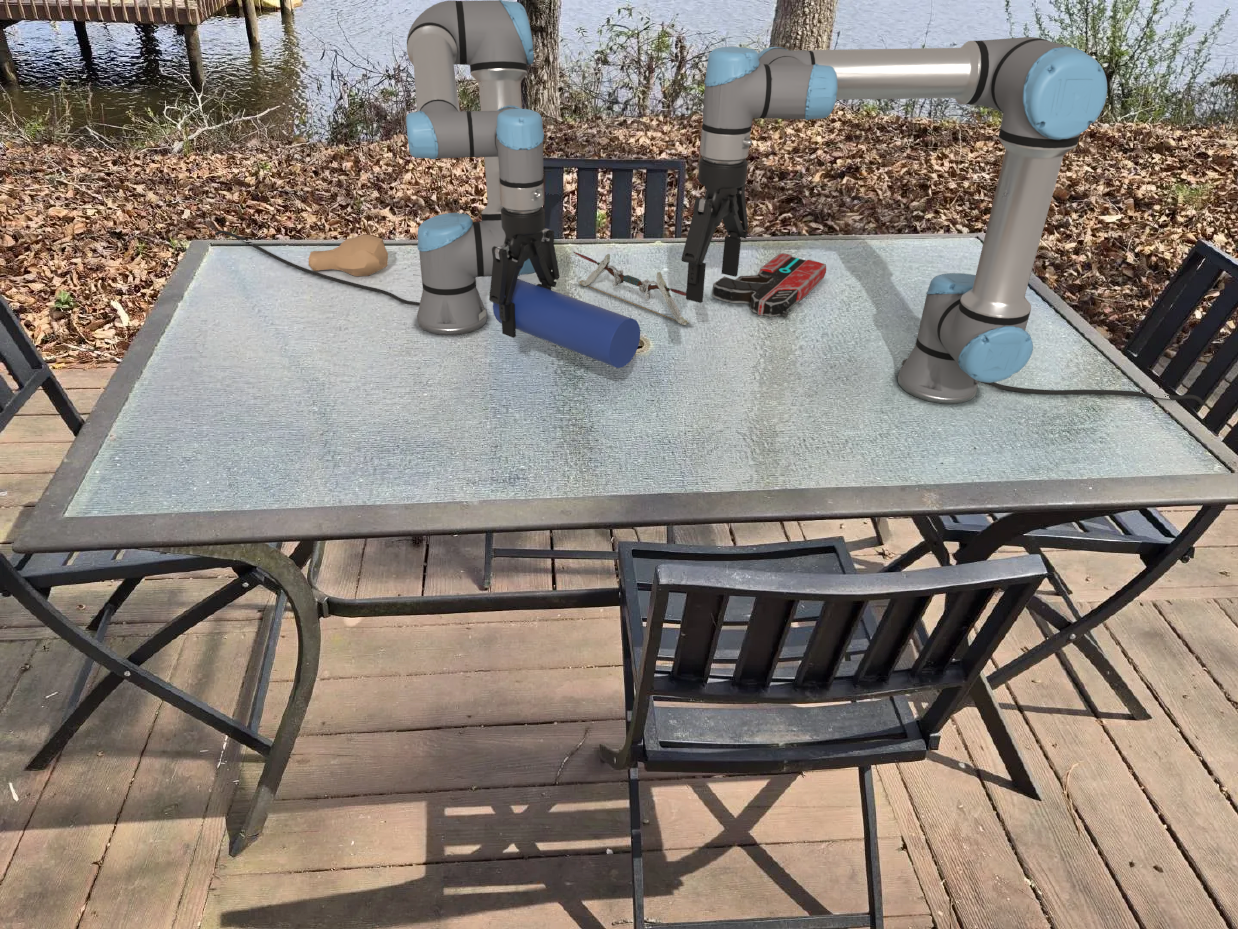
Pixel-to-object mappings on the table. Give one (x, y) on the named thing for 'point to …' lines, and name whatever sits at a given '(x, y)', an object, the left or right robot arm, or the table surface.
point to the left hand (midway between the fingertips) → (526, 326)
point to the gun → (772, 285)
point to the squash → (353, 256)
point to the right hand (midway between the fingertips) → (712, 287)
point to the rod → (574, 324)
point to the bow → (643, 285)
